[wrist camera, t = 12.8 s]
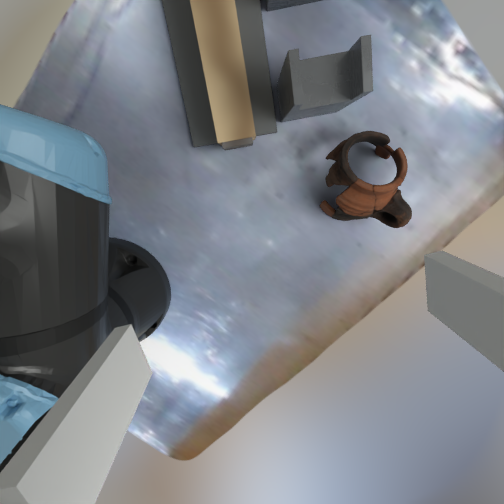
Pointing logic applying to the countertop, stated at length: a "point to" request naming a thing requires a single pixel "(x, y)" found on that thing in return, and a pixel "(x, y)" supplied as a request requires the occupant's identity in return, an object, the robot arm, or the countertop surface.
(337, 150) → the pottery mug
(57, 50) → the countertop surface
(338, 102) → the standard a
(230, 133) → the oak rail
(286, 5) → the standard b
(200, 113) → the mat
